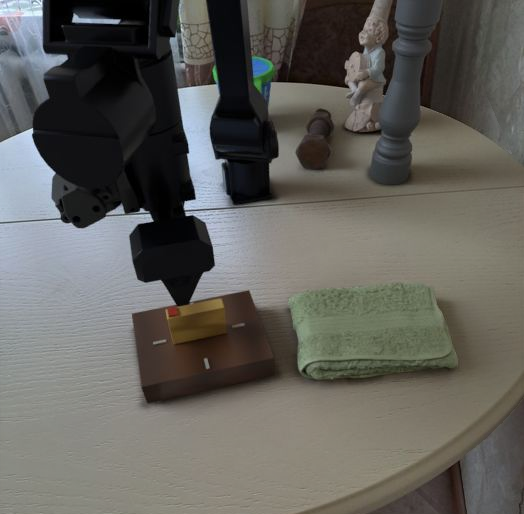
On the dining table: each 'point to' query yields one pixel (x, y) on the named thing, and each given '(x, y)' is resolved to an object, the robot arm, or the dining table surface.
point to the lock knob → (196, 321)
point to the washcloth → (370, 331)
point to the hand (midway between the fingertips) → (176, 274)
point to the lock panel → (201, 351)
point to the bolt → (316, 141)
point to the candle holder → (404, 90)
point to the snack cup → (259, 76)
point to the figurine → (368, 71)
